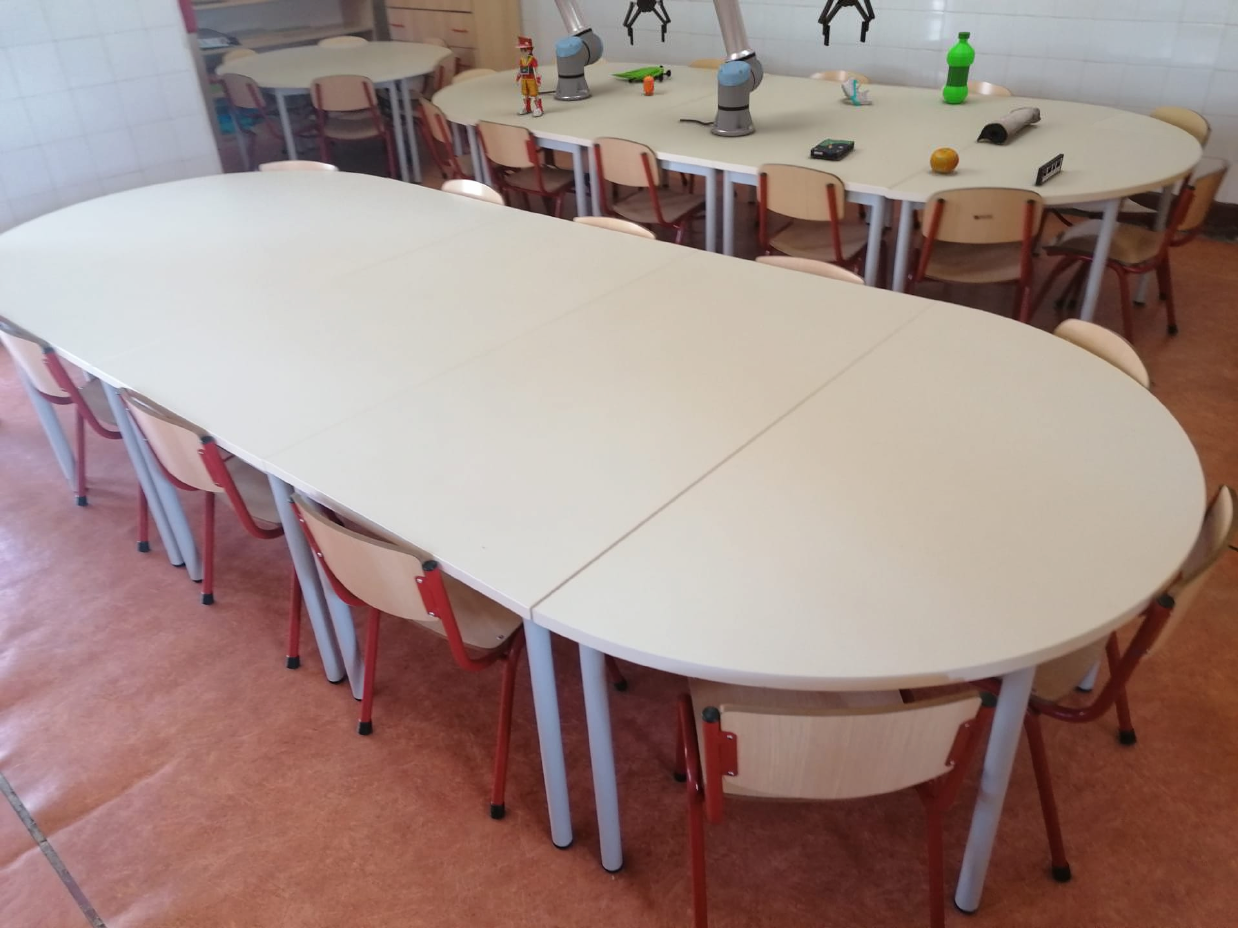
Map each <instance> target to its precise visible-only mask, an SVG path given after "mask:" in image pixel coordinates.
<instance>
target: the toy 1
mask: <svg viewBox="0 0 1238 928" xmlns="http://www.w3.org/2000/svg"><path fill="white" fill-rule="evenodd" d="M516 37H517V39H518V41H515V44H517V45H516V46H514V48H516V49H519V51H520V55H521V56H522V57H520V58H519V59H520V60H519V63H518V66H519V69H518V72H516V79H515V81H516V82H515V83H516V85H517V86H519V81H520V79H521V81H520V83H521V84H520V85H521V91H520V92H521V95H523V96H524V97H525V98H523V99H522V101H523V103H524V105H525V106H524V107H521V108H519V111H518V114H519V115H524V114H528V113H530V112H532V105H531V103H532V99H533V98H534V101H533V103H534V105H535V106H536V109H535V110H533V115H532V116H533V117H539V116H541V115H542V114H543V113H544V109H543V104H542V103H543V101H542V98H539V95H540V94H539V92H540V89H539V88H540V87H542V83H541V79H542V77H543V76H542V75H541V74H540V73H539V68H538V67H539V63H538V60H537V59H536V57H534V54H533V51H534V48H535V46H533V40H532V38H531V37H530V38H527V37H524V36H518V35H517V36H516ZM532 97H533V98H532Z"/></svg>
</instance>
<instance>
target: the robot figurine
mask: <svg viewBox="0 0 1238 928" xmlns="http://www.w3.org/2000/svg"><path fill="white" fill-rule="evenodd" d="M646 76H647V75H646ZM654 91H655V78H653V77H651V76H647V77H645V78H644V80H643V92H644V93H645V94H644V95H647V96H651V95H653V94H654Z"/></svg>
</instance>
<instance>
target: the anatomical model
mask: <svg viewBox="0 0 1238 928" xmlns="http://www.w3.org/2000/svg"><path fill="white" fill-rule="evenodd" d="M857 83H858V80H857V78H855V77H854V76H849V79H848V80H846V81H843V82H841V89H842V92H843V94H844V96H845V97H846V98H850V100H851V101H852V103H853V104H854V105H855V106H861V104H862V105H863V104H871V103H873V102H874V100H873V99H868V97H867V95H868V94H869V92H870V90H869V89H865V90H864V91H862V92H860V91H859V89H860V87H861V86H862V83H860V84H858V85H856V84H857Z"/></svg>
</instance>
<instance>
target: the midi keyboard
mask: <svg viewBox="0 0 1238 928" xmlns="http://www.w3.org/2000/svg"><path fill="white" fill-rule="evenodd" d="M1064 157H1065V153H1059V154H1058V155H1056V156H1055V157H1052V159H1051V160H1049V161H1047V162H1045V164H1042V165H1041V166H1039V167H1038V169H1037V175H1036V179H1035V186H1040V185H1042V183H1044V182H1045V181H1047V180H1048V179H1049V178H1051V177H1052V176H1054V175H1055V174H1056V173H1058V172H1060V171H1061V170H1062V165H1063V161H1064Z"/></svg>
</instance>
